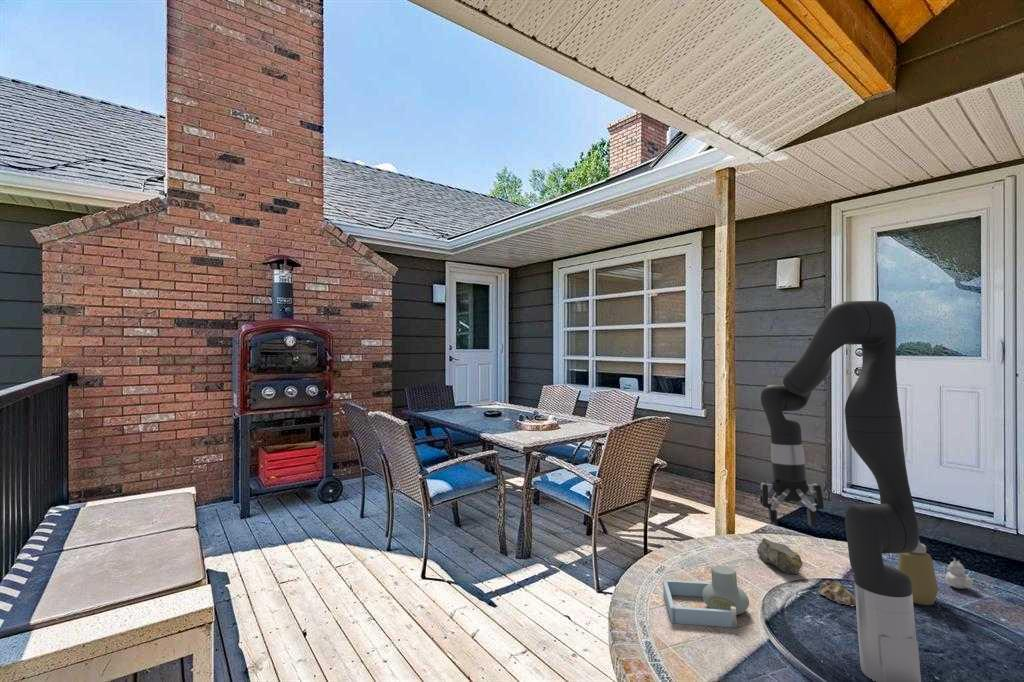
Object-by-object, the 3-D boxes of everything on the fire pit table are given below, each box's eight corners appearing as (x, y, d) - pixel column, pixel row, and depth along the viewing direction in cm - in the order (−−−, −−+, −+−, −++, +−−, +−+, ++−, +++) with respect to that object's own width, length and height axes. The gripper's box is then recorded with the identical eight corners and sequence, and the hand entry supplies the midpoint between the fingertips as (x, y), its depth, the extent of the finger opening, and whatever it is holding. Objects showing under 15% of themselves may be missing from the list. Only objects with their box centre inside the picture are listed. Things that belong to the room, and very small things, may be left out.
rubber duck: (957, 582, 132) (954, 553, 133) (982, 593, 126) (979, 562, 126) (939, 583, 132) (936, 554, 132) (963, 594, 125) (960, 563, 126)
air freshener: (751, 608, 121) (749, 568, 122) (746, 623, 114) (744, 580, 115) (707, 598, 127) (704, 560, 128) (699, 611, 120) (697, 571, 121)
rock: (816, 559, 140) (787, 553, 138) (812, 582, 139) (782, 576, 138) (774, 537, 156) (748, 532, 155) (770, 558, 156) (744, 552, 154)
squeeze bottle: (898, 590, 128) (893, 523, 130) (938, 598, 123) (932, 528, 125) (898, 602, 122) (893, 531, 123) (940, 611, 117) (934, 537, 118)
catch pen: (737, 627, 112) (736, 608, 113) (671, 622, 115) (670, 604, 115) (720, 596, 128) (720, 579, 128) (663, 592, 131) (662, 576, 131)
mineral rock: (808, 581, 131) (834, 572, 131) (812, 596, 131) (839, 587, 131) (836, 601, 120) (865, 591, 120) (841, 618, 120) (870, 608, 120)
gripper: (762, 463, 121) (767, 528, 120) (824, 463, 118) (830, 530, 117) (754, 458, 128) (758, 519, 127) (812, 458, 125) (817, 521, 124)
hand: (792, 524), depth 122 cm, fingers open, 8 cm apart
